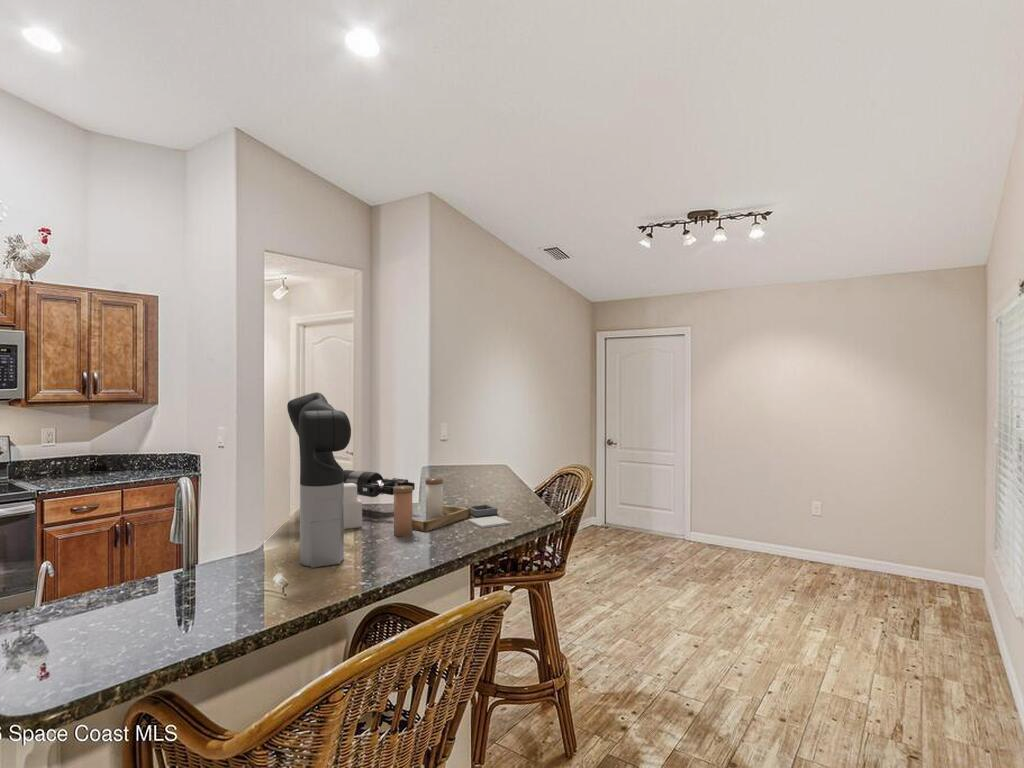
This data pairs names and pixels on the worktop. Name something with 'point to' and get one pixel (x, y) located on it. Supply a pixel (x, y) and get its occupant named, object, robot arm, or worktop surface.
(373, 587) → the worktop surface
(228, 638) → the worktop surface
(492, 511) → the hole dish
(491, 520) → the white square tile
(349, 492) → the medicine bottle
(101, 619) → the worktop surface
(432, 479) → the spice jar
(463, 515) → the wooden tray
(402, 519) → the terracotta jar
